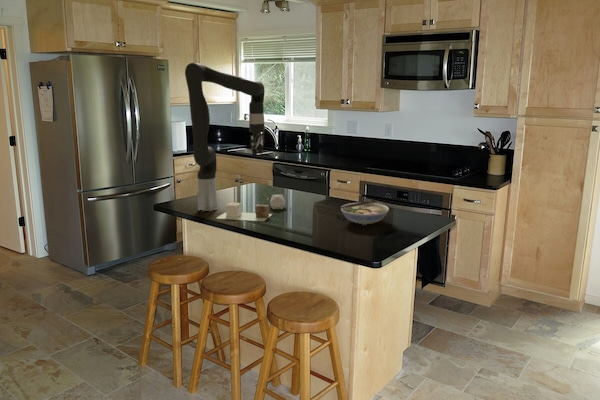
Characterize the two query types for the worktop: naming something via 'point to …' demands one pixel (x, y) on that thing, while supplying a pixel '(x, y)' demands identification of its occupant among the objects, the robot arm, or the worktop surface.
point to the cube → (233, 209)
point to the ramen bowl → (364, 212)
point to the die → (277, 202)
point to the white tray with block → (251, 214)
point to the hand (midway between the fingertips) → (257, 154)
